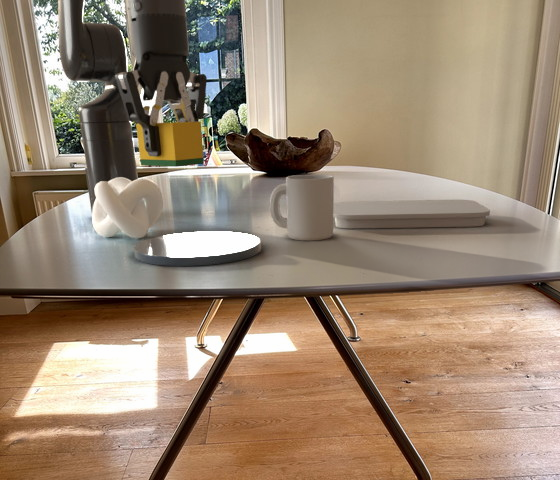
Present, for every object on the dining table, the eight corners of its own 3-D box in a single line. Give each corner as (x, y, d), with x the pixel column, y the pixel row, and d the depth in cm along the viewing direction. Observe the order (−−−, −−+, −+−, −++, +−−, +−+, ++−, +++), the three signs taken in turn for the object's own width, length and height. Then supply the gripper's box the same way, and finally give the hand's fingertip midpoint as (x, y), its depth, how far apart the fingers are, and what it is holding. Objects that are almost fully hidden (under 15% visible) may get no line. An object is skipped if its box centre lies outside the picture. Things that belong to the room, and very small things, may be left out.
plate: (109, 255, 85) (108, 246, 85) (204, 235, 97) (203, 227, 97) (191, 273, 74) (190, 263, 73) (287, 248, 86) (286, 239, 85)
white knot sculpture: (157, 242, 93) (151, 182, 89) (80, 244, 93) (71, 184, 89) (169, 229, 103) (163, 175, 100) (100, 231, 103) (92, 177, 100)
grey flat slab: (331, 214, 113) (331, 202, 112) (470, 211, 111) (471, 199, 110) (331, 229, 98) (332, 215, 97) (493, 226, 96) (494, 212, 95)
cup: (330, 241, 90) (330, 179, 86) (265, 240, 92) (263, 179, 88) (335, 232, 96) (336, 174, 93) (275, 231, 98) (273, 175, 94)
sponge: (140, 165, 85) (135, 123, 83) (168, 162, 89) (164, 122, 87) (176, 166, 80) (172, 122, 78) (204, 163, 84) (200, 121, 82)
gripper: (181, 23, 85) (192, 151, 91) (92, 14, 75) (112, 157, 82) (217, 16, 80) (226, 151, 87) (127, 5, 70) (145, 158, 77)
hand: (170, 153), depth 84 cm, fingers closed on sponge, 5 cm apart
